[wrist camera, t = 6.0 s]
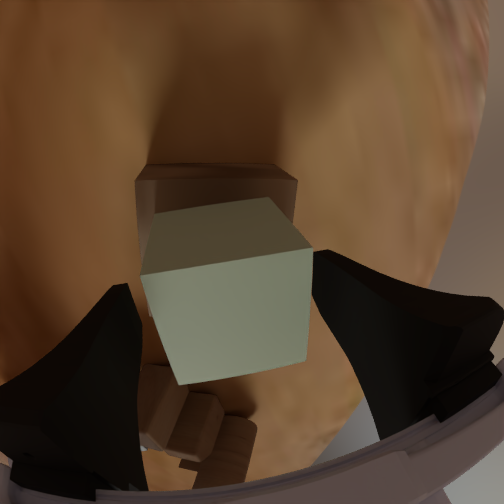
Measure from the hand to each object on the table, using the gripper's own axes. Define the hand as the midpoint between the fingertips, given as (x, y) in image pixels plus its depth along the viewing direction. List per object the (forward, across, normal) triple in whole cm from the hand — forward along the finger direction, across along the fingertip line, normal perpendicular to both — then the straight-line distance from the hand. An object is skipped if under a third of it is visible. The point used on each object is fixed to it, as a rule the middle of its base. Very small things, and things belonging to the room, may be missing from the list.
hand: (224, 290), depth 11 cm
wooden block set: (+7, +4, +19) cm, 21 cm away
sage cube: (+3, 0, 0) cm, 3 cm away
